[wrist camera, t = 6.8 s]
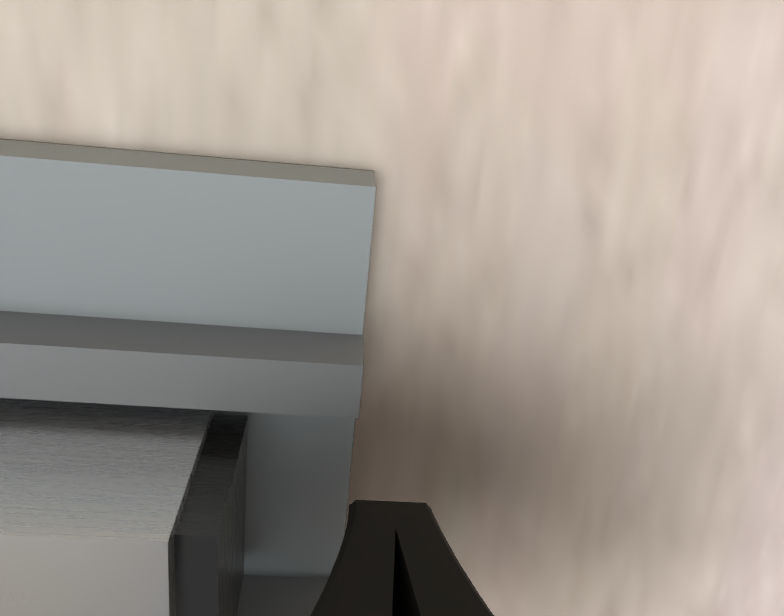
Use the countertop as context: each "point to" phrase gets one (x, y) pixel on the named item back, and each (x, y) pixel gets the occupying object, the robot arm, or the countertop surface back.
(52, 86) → the countertop surface
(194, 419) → the grey rail carriage
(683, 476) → the countertop surface
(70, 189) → the gauge board
